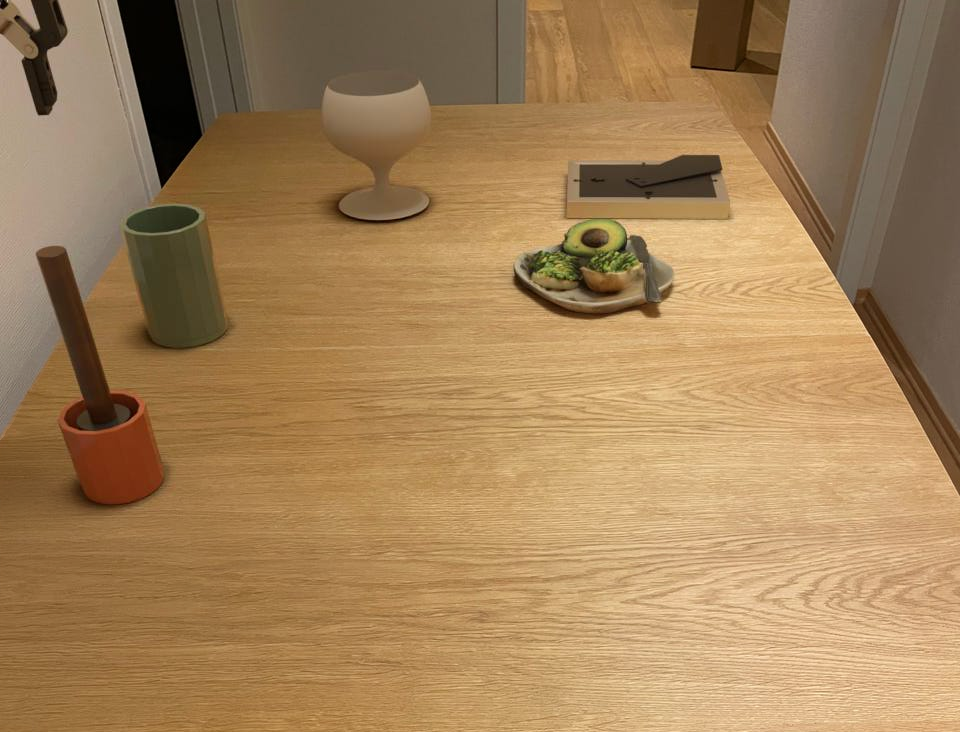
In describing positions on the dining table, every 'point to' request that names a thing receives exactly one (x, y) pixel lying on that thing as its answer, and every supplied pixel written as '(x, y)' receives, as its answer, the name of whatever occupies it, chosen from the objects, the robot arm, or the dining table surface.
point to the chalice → (378, 136)
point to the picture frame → (648, 189)
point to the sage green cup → (175, 274)
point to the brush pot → (114, 453)
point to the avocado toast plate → (595, 269)
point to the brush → (79, 342)
